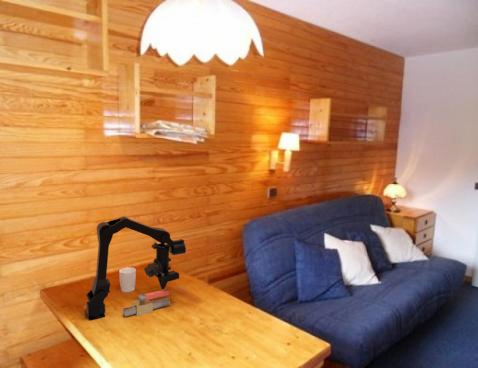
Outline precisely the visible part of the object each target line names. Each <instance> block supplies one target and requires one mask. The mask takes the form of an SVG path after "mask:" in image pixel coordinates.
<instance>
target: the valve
mask: <svg viewBox="0 0 478 368" xmlns="http://www.w3.org/2000/svg"><path fill="white" fill-rule="evenodd" d="M170 304H171V301H170V298H169V297H168V296H167V297H164V298H160V299H159V298H158V299H155V300H152V301H151V300H150V299H148V300H145V301H139V299H136V300H132V301H131V306H126V307H123V308H122V314H123V317H124V318H125V317H130V316H133V315H134V316H136V317H137V318H138V317H140V316H145V315H148V314H152V313H154V311H153V310H156V309H160V308H164V307H168V306H170Z"/></svg>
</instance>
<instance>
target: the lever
mask: <svg viewBox="0 0 478 368" xmlns="http://www.w3.org/2000/svg"><path fill="white" fill-rule="evenodd" d="M165 296H170V290H169V289H168V288H167V289H163V290H162V289H161V290H157V291H154V292H153V291H151V292H149V293H141V294H139V295H138V300H139V301H145V300H148V299H149V300H150V299H151V300H152V299H155V298H156V299H157V298H161V297H165Z"/></svg>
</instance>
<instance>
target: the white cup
mask: <svg viewBox="0 0 478 368" xmlns="http://www.w3.org/2000/svg"><path fill="white" fill-rule="evenodd" d="M136 273H137V270H136V268H134V267H123V268H120V269H119V273H118V275H119V285H120V292H122V293H130V292H134V290H135V289H136V277H137V276H136V275H137V274H136Z"/></svg>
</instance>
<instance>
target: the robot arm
mask: <svg viewBox="0 0 478 368" xmlns="http://www.w3.org/2000/svg"><path fill="white" fill-rule="evenodd" d="M124 229H129V230H131V231H132V230H133V231H134V232H136V233H140V234H142V235H145V236H148V237H150V238H152V239H154V240H155V241H156V242H154V243H152V245H150V246H151V248H152V249H153V250H156V251H155V258H153V262H152V263H148V264H147V266H145V267H144V268H143V270H144V273H145V275H146V276H148V277H149V278H152V277H156V278H157V280H158V282H159V285H160V288H161V290H166V289H165V288H166V287H167V284H168V282H169V283H170V282H173V281H176V280H179V279H180V273H179V272H177V271H175V270H172V267H171V266H170V262H171V261H172V258H170V254H171V255H172V256H177V255H184V254H186V251H187V250H186V249H187V248H186V245H185V240H184V239H183V238H181V239H176V240H173V239H172V238H171V233H170V232H169V231H167V230H166V229H164V228H162V227H155V226H153V227H152V226H150V225H147V224H144V223H141V222H139V221H137V220H134V219H131V218H128V217H126V216H121V217H119V218H115V219H112V220H109V221H102V222H100V223H98V224H97V226H96V237H97V242H98V243H97V244H98V248H97V261H96V270H95V271H96V273H95V278H94V280H93V282H92V286H91V289H90V291H89V292H87V294H86V299H87V301H86V313H85V315H86V317H87V319H88V321H94V320H97V319H100V318H106V304H105V299H106V298H108V295H109V294H110V293H111V291H110V287H111V282H110V280H109V278H107V274H108V273H107V271H108V260H109V248H110V245H111V242H112V239H113V236H114V235H115V234H117V233H119V232H120V231H122V230H124ZM157 242H158V243H157Z"/></svg>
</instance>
